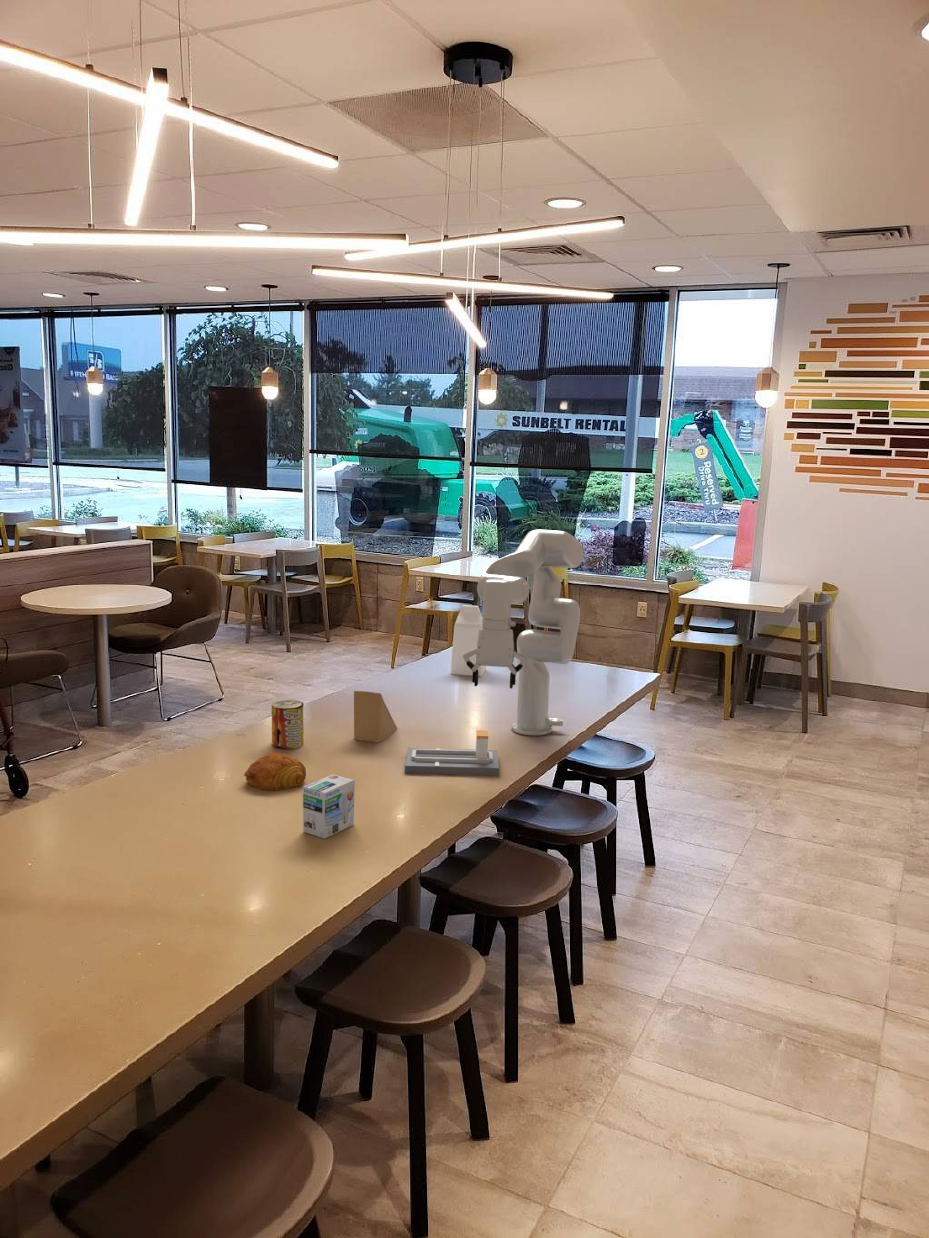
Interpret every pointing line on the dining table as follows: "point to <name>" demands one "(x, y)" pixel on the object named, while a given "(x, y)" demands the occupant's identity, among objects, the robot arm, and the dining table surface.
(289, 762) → the croissant
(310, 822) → the light bulb box
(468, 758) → the board
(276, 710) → the beverage can
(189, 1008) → the dining table surface
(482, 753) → the fader knob
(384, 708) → the sandwich container
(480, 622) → the white tall block
